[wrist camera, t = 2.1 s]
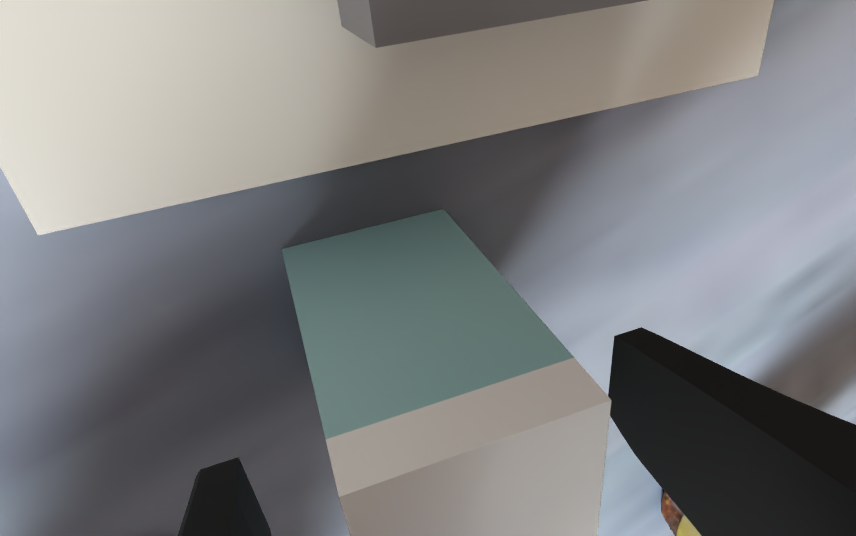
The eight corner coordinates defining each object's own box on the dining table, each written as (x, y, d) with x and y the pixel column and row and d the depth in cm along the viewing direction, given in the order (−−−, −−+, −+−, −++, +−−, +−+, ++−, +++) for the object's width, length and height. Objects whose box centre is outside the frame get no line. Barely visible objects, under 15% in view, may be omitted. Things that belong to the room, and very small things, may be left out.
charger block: (455, 334, 16) (595, 556, 10) (317, 376, 15) (384, 646, 9) (443, 208, 14) (611, 399, 8) (281, 248, 13) (338, 497, 7)
